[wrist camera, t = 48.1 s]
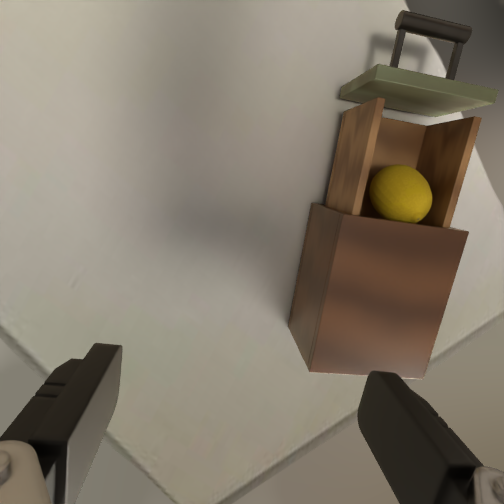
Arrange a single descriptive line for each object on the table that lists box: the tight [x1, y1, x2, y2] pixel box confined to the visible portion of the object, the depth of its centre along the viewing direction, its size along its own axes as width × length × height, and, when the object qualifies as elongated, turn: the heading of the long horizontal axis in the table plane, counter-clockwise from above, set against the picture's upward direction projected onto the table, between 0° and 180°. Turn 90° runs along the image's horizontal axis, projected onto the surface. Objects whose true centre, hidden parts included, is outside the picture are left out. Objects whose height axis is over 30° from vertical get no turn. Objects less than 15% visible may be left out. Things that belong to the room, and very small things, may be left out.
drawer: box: [325, 10, 498, 228], centre depth 34 cm, size 21×12×8 cm, turn 171°
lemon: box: [369, 164, 432, 223], centre depth 34 cm, size 6×6×8 cm
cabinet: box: [288, 203, 469, 379], centre depth 38 cm, size 17×13×10 cm
